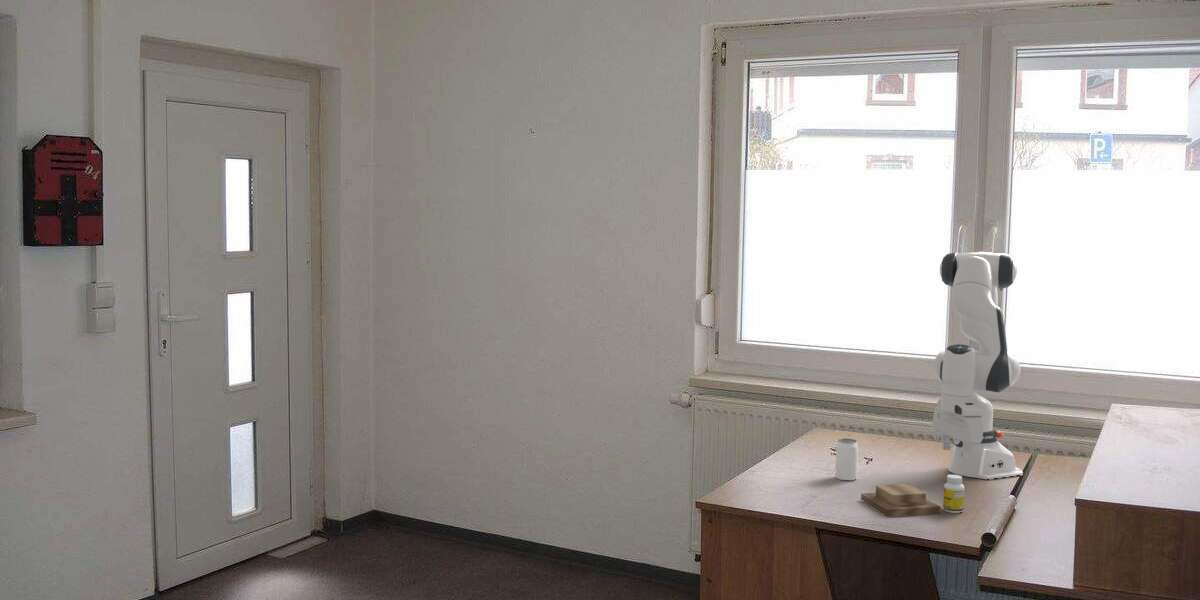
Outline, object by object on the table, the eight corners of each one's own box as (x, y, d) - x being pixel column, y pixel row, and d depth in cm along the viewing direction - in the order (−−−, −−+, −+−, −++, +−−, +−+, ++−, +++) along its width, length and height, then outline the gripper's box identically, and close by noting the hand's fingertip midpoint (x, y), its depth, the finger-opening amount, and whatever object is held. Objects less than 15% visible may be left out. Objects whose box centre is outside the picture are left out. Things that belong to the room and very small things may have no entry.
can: (857, 481, 319) (858, 443, 318) (835, 480, 321) (836, 442, 320) (856, 476, 326) (857, 438, 325) (835, 475, 327) (836, 437, 326)
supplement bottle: (939, 508, 293) (941, 473, 292) (958, 507, 293) (960, 473, 292) (947, 513, 287) (949, 479, 286) (966, 513, 288) (968, 478, 287)
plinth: (912, 497, 303) (912, 480, 302) (940, 513, 287) (941, 495, 287) (860, 500, 300) (861, 483, 299) (886, 516, 284) (887, 498, 283)
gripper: (928, 397, 297) (926, 445, 298) (967, 411, 277) (964, 462, 278) (948, 397, 298) (946, 444, 299) (988, 410, 278) (986, 461, 279)
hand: (955, 453), depth 288 cm, fingers open, 8 cm apart
